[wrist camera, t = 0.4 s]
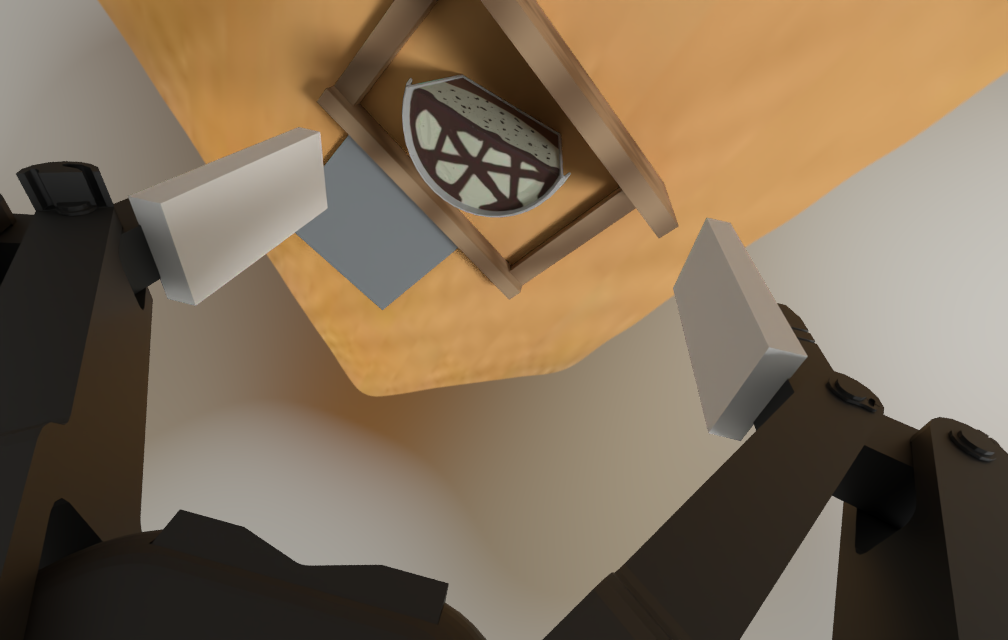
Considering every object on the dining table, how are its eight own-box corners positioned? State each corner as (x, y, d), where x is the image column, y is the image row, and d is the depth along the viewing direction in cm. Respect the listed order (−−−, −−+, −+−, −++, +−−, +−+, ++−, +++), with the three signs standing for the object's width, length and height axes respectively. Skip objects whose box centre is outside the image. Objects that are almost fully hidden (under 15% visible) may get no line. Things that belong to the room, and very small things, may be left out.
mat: (284, 218, 46) (281, 220, 46) (357, 126, 39) (354, 128, 38) (384, 307, 51) (382, 310, 50) (465, 240, 44) (464, 242, 43)
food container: (419, 134, 38) (372, 169, 30) (445, 64, 35) (398, 82, 27) (540, 204, 40) (524, 254, 32) (576, 143, 36) (569, 182, 28)
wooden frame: (331, 96, 38) (268, 118, 31) (468, -96, 29) (424, -128, 22) (513, 286, 46) (496, 339, 39) (663, 183, 37) (678, 226, 30)
